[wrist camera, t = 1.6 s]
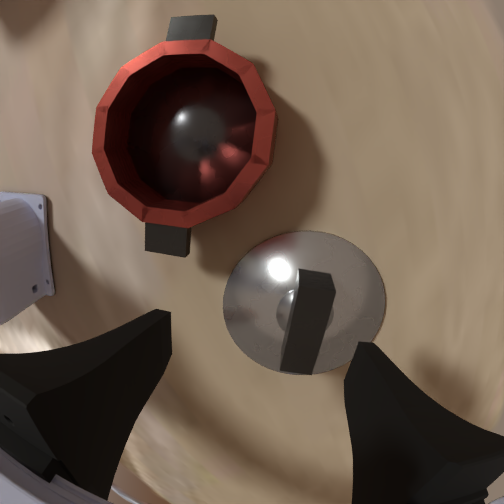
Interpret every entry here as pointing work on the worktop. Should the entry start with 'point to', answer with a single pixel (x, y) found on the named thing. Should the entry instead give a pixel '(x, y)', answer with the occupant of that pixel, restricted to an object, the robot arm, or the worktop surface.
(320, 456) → the worktop surface
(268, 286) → the lid
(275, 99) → the worktop surface
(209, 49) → the pot
